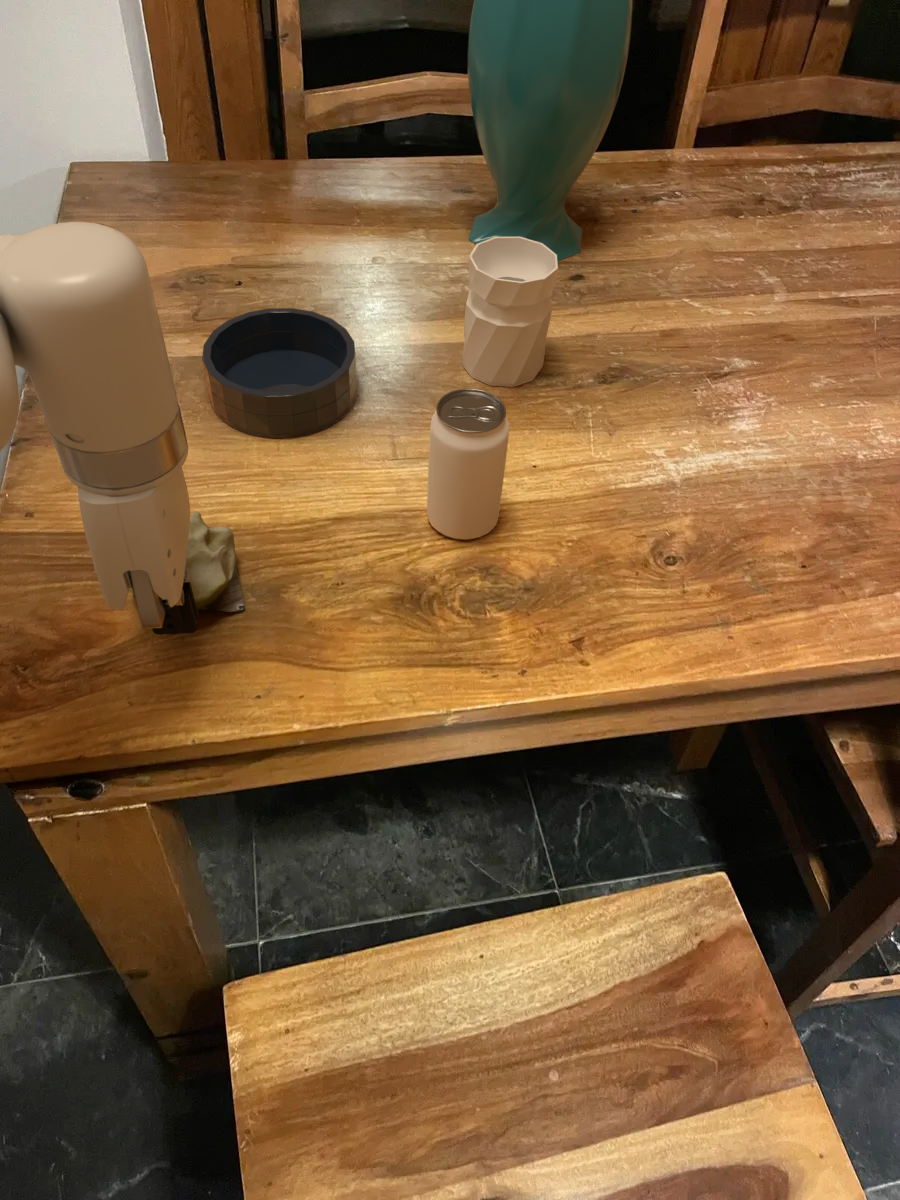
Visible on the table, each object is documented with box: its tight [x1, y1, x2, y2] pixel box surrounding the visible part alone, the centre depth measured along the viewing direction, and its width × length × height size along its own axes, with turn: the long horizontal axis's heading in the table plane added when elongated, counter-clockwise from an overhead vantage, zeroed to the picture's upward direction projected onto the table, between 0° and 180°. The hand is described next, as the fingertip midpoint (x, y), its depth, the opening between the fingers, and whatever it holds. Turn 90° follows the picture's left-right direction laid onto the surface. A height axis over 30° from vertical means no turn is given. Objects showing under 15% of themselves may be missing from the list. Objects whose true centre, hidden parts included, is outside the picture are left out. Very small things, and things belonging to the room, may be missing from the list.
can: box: [426, 388, 510, 541], centre depth 79 cm, size 6×6×12 cm
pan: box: [201, 307, 357, 439], centre depth 93 cm, size 15×15×5 cm
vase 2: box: [461, 237, 559, 388], centre depth 95 cm, size 9×9×12 cm
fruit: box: [129, 510, 246, 613], centre depth 74 cm, size 9×9×8 cm
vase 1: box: [467, 0, 633, 262], centre depth 106 cm, size 17×17×30 cm
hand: (176, 625), depth 71 cm, fingers closed
